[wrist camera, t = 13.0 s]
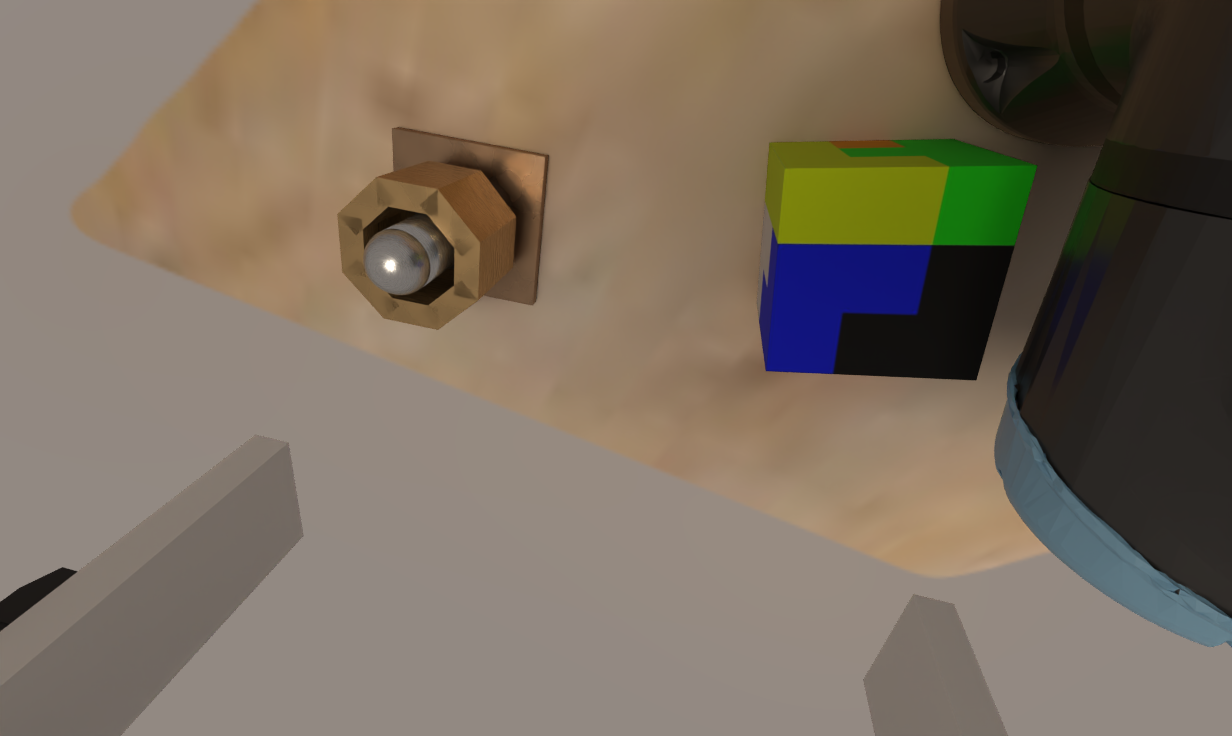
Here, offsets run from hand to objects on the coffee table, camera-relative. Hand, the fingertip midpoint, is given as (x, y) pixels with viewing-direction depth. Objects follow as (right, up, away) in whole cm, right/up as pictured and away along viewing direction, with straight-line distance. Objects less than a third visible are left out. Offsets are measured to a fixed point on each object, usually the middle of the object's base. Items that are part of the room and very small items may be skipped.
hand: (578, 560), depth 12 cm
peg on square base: (-9, +14, +27) cm, 32 cm away
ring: (-9, +13, +24) cm, 29 cm away
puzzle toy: (+15, +13, +23) cm, 31 cm away
